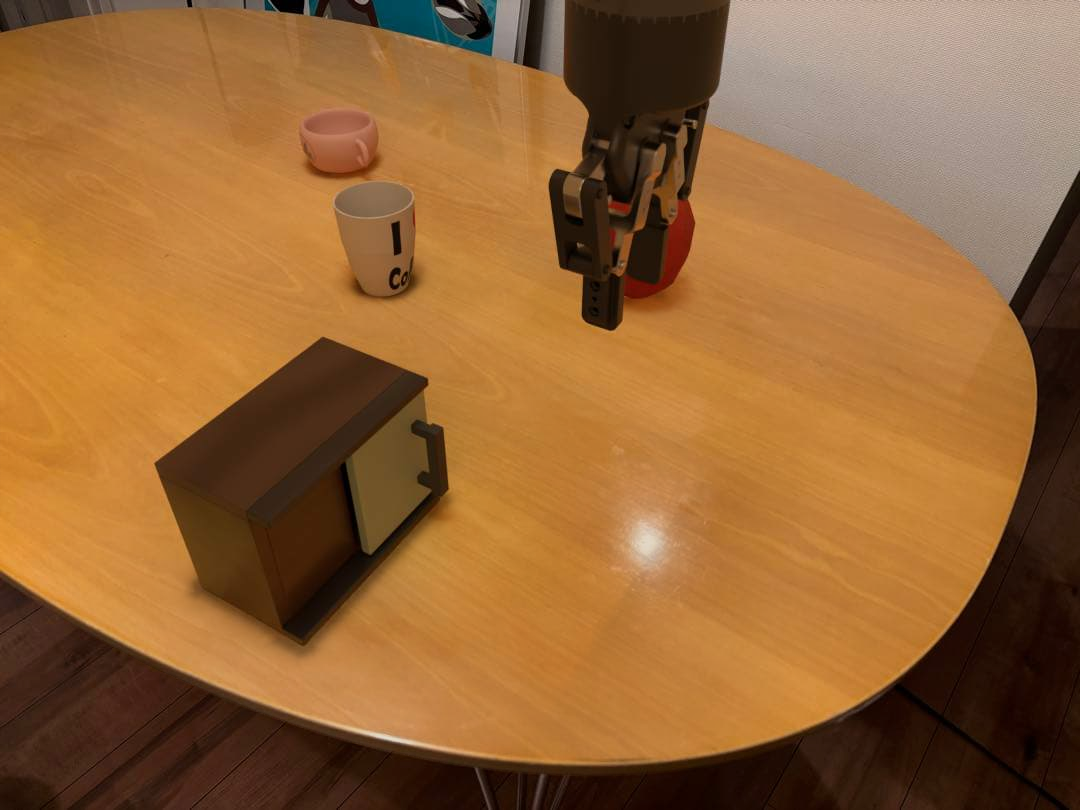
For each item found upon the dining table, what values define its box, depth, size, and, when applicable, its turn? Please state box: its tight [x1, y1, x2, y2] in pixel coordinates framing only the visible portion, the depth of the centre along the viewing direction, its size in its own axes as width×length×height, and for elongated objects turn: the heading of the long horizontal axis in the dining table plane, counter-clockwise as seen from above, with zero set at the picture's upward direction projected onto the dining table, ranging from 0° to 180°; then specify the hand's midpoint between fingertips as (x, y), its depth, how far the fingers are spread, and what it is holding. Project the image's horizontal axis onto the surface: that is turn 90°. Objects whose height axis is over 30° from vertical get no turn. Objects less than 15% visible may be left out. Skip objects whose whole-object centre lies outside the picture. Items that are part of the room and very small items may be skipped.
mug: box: [298, 107, 379, 174], centre depth 115 cm, size 12×10×6 cm
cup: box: [332, 180, 417, 298], centre depth 92 cm, size 8×8×10 cm
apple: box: [608, 198, 696, 300], centre depth 90 cm, size 10×10×14 cm
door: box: [345, 389, 450, 555], centre depth 64 cm, size 3×8×10 cm, turn 149°
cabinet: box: [153, 336, 441, 646], centre depth 63 cm, size 10×16×12 cm, turn 149°
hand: (623, 299), depth 51 cm, fingers open, 5 cm apart
